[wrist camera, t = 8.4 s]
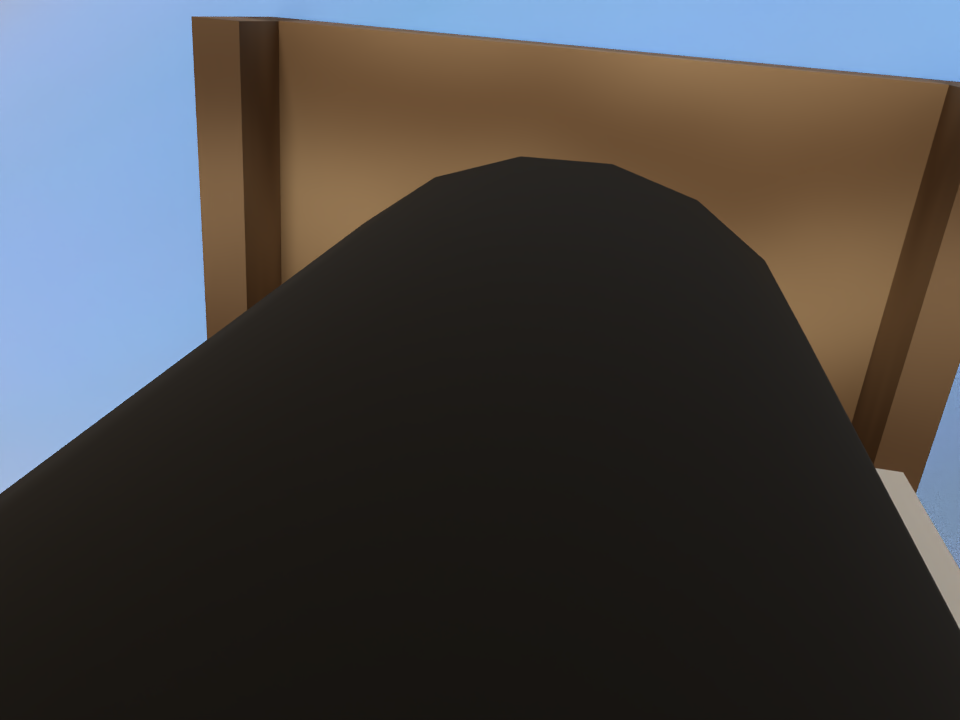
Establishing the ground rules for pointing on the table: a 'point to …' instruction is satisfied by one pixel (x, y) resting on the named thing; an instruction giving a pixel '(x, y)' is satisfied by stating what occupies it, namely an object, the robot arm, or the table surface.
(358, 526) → the coffee jar
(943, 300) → the brown shallow square tray
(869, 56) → the table surface
